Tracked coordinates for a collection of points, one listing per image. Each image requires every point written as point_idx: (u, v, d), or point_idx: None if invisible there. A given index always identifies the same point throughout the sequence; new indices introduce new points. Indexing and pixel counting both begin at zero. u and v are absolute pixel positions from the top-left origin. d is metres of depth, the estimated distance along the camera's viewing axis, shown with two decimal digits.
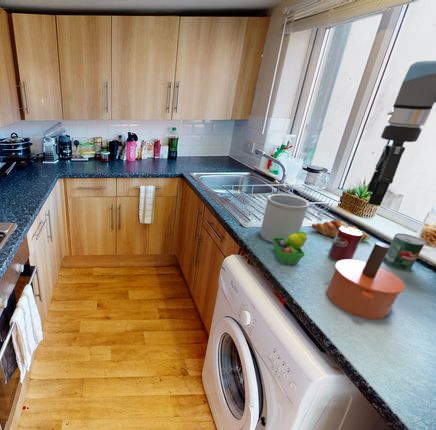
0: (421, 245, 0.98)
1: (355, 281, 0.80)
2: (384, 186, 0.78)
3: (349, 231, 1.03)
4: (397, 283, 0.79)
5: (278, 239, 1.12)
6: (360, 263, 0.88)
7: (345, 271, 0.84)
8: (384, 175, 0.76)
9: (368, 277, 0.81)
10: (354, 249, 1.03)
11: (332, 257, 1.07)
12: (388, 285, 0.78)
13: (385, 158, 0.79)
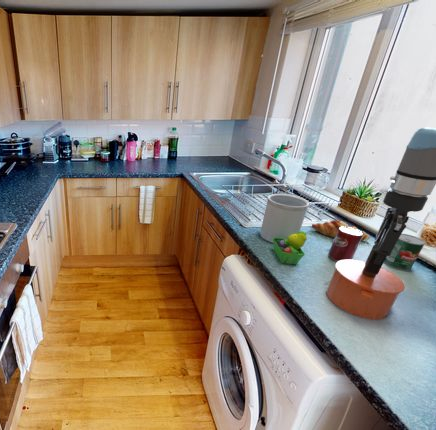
0: (421, 245, 0.98)
1: (355, 281, 0.80)
2: (382, 257, 0.77)
3: (349, 231, 1.03)
4: (397, 283, 0.79)
5: (278, 239, 1.12)
6: (360, 263, 0.88)
7: (345, 271, 0.84)
8: (381, 249, 0.75)
9: (368, 277, 0.81)
10: (354, 249, 1.03)
11: (332, 257, 1.07)
12: (388, 285, 0.78)
13: (385, 228, 0.75)
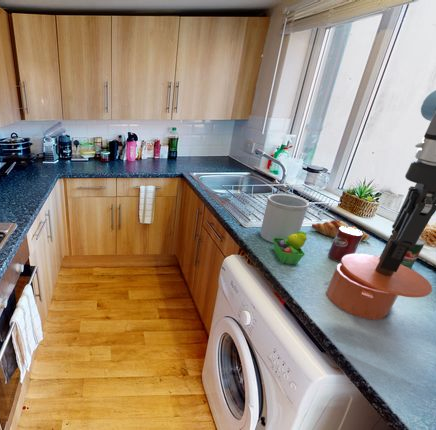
0: (421, 245, 0.98)
1: (367, 280, 0.62)
2: (403, 249, 0.59)
3: (349, 231, 1.03)
4: (421, 283, 0.62)
5: (278, 239, 1.12)
6: (373, 258, 0.70)
7: (354, 268, 0.66)
8: (403, 238, 0.57)
9: (384, 276, 0.64)
10: (354, 249, 1.03)
11: (332, 257, 1.07)
12: (410, 286, 0.61)
13: (408, 211, 0.58)
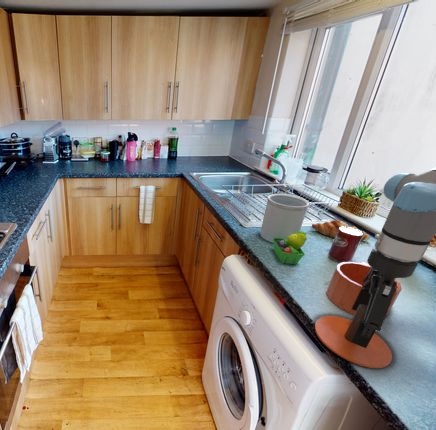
0: None
1: (335, 349, 0.69)
2: (371, 330, 0.62)
3: (349, 231, 1.03)
4: (383, 352, 0.69)
5: (278, 239, 1.12)
6: (344, 321, 0.78)
7: (325, 334, 0.74)
8: (370, 320, 0.60)
9: (351, 344, 0.71)
10: (354, 249, 1.03)
11: (332, 257, 1.07)
12: (373, 355, 0.68)
13: (372, 292, 0.63)
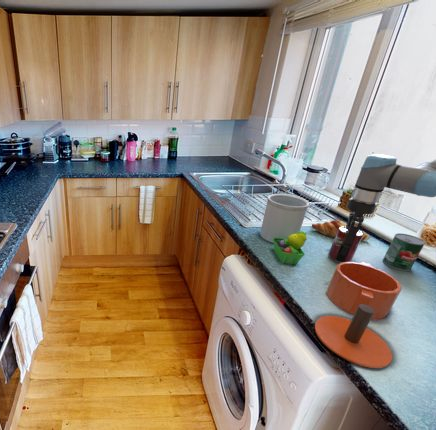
0: (421, 245, 0.98)
1: (335, 349, 0.69)
2: (346, 249, 1.01)
3: None
4: (383, 352, 0.69)
5: (278, 239, 1.12)
6: (344, 321, 0.78)
7: (325, 334, 0.74)
8: (345, 242, 0.99)
9: (351, 344, 0.71)
10: (354, 249, 1.03)
11: (332, 257, 1.07)
12: (373, 355, 0.68)
13: (348, 226, 1.01)
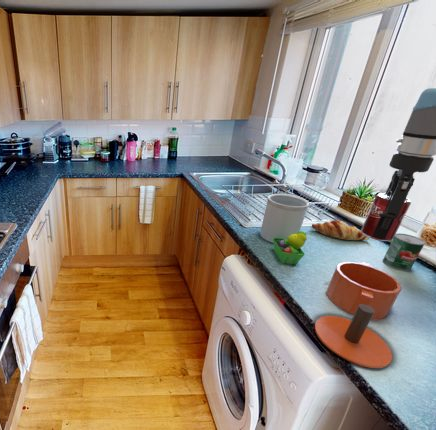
0: (421, 245, 0.98)
1: (335, 349, 0.69)
2: (389, 221, 0.76)
3: None
4: (383, 352, 0.69)
5: (278, 239, 1.12)
6: (344, 321, 0.78)
7: (325, 334, 0.74)
8: (389, 211, 0.74)
9: (351, 344, 0.71)
10: (399, 221, 0.77)
11: (367, 233, 0.82)
12: (373, 355, 0.68)
13: (392, 190, 0.76)
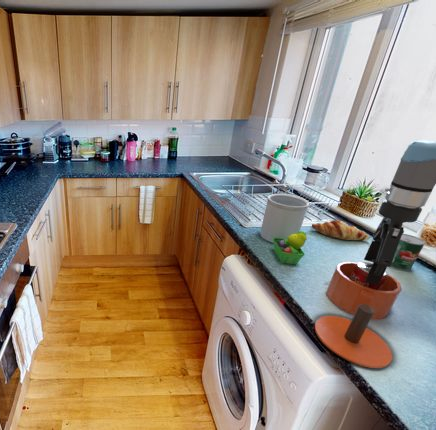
0: (421, 245, 0.98)
1: (335, 349, 0.69)
2: (382, 268, 0.73)
3: None
4: (383, 352, 0.69)
5: (278, 239, 1.12)
6: (344, 321, 0.78)
7: (325, 334, 0.74)
8: (382, 258, 0.72)
9: (351, 344, 0.71)
10: None
11: None
12: (373, 355, 0.68)
13: (383, 236, 0.75)
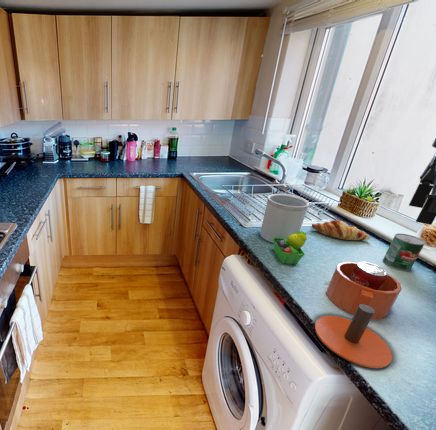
0: (421, 245, 0.98)
1: (335, 349, 0.69)
2: None
3: (370, 269, 0.81)
4: (383, 352, 0.69)
5: (278, 239, 1.12)
6: (344, 321, 0.78)
7: (325, 334, 0.74)
8: None
9: (351, 344, 0.71)
10: None
11: None
12: (373, 355, 0.68)
13: None
